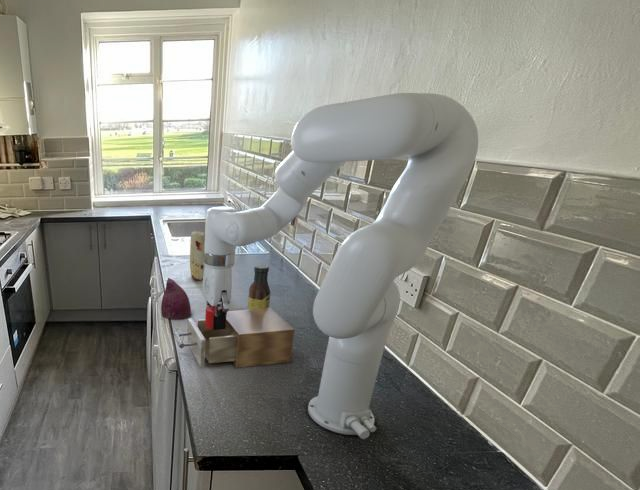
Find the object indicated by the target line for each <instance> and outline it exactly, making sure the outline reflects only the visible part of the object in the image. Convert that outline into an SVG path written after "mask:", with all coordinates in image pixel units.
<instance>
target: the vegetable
mask: <svg viewBox="0 0 640 490" xmlns="http://www.w3.org/2000/svg"><path fill="white" fill-rule="evenodd" d="M165 285H166V286H165V289H164V292H163V294H162V298H161V304H160V311H161V316H162V317H163V318H165V319H168V320H184V319H187V318H188V317H189V318H190V317H191V314H192V313H191V312H192V307H191V302H190V298H189V296H188V294H187V292H186V291H185V290H184V288H183V287H182V286H180V285H179V284H178V283H177V282H176V281H175V280H174V279H172V278H170V277H168V278H167V281H166V284H165Z"/></svg>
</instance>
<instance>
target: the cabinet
mask: <svg viewBox="0 0 640 490" xmlns="http://www.w3.org/2000/svg"><path fill="white" fill-rule="evenodd" d="M226 322H227V324H228V325H229V326H230V327H231V328H232V330H233V331H234V332H235V333H236V335H237V336H238V339H237V352H236V361H231V362H232V363H233V365H234V366H235V368H244V367H245V368H246V367H255V366H265V365H274V364H286V363H291V358H292V351H293V345H294V337H295V331H296V329H295V327H293V326H292V325H290V324H289V323H288V322H287V321H286V320H285V319H283V317H281V316H280V315H279V314H278V313H277V312H276V311H275V310H273V309H272V308H271V307H270V306H269V308H258V309H248V308H246V309H237V310H229V311H228V312H227V316H226Z"/></svg>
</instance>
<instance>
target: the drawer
mask: <svg viewBox="0 0 640 490" xmlns="http://www.w3.org/2000/svg"><path fill="white" fill-rule="evenodd" d="M196 321H197V323H196V322H195V321H194V319H193V318H192V317H189V318H188V319H187V332H180V333H179V332H177V331H175V332H173V338H174V339H175V342H176V344H177V345H178V347H179V349H184V348H185V347H189V349H190V350H191V352H192V354H193V356H194V358H195V360H196V362H197V364H198V365H199V367H200V368H202V367H206V361H207V362H208V364H217V363H226V362H232V361H236V352H237V339H238V336H237V335H236V333H235V332H234V331H233V330H232V328H231V327H230V326H229V325H228V324H227V322H226V326H225V329H220V330H214V329H210V328H208V327H206V326H205V318H201V319H200V318H199V319H197V320H196ZM181 337H187V343H185V342H183V340H182V338H181Z"/></svg>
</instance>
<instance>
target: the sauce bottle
mask: <svg viewBox="0 0 640 490" xmlns="http://www.w3.org/2000/svg"><path fill="white" fill-rule="evenodd" d="M253 271H254V277H253V282H252V283H251V284H250V286H249V290H248V297H247V309H258V308H269V307H270V304H271V303H270V301H271V289H270V286H269V282H268V275H269V271H270V267H269V266H268V265H266V264H257V265H254V268H253Z"/></svg>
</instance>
